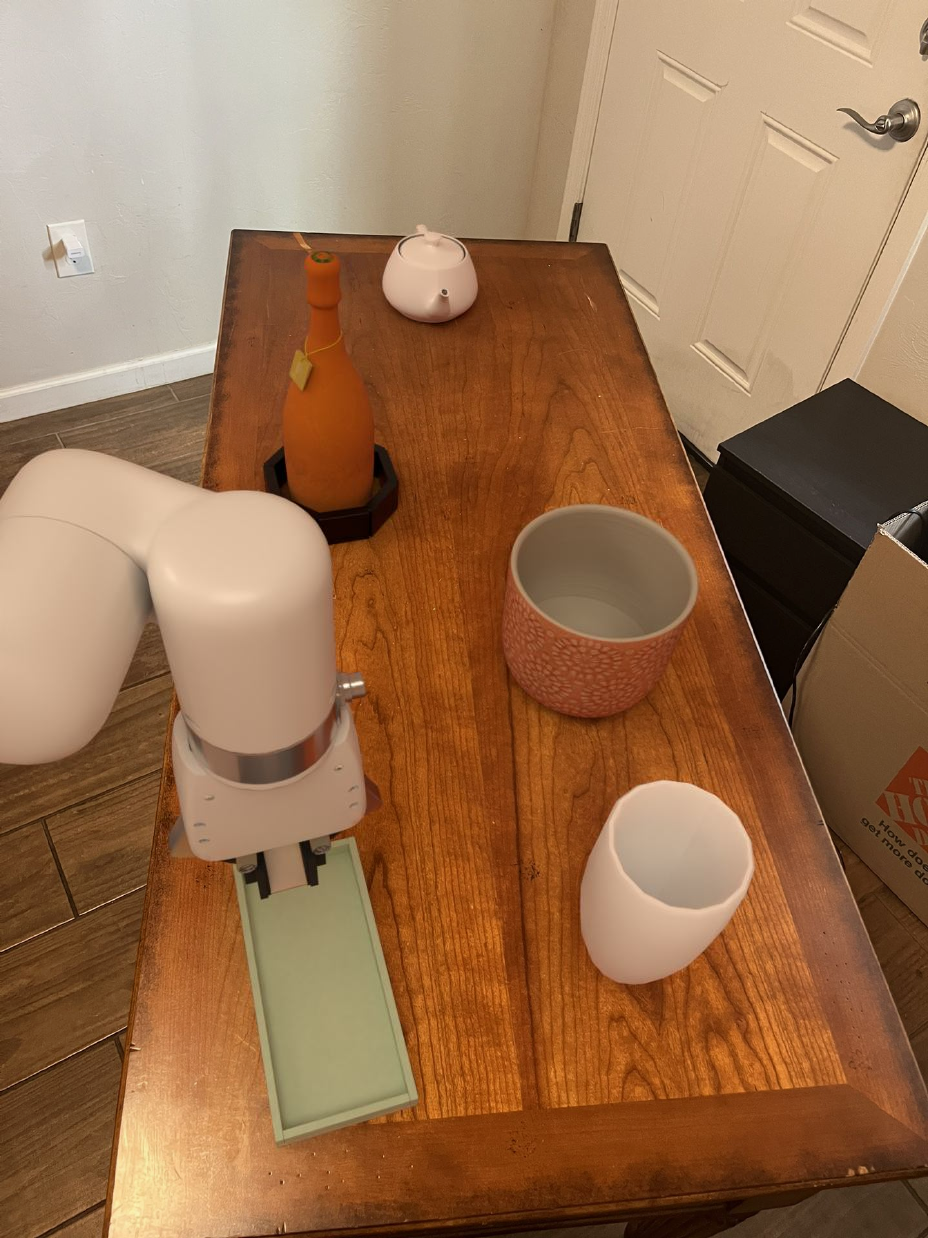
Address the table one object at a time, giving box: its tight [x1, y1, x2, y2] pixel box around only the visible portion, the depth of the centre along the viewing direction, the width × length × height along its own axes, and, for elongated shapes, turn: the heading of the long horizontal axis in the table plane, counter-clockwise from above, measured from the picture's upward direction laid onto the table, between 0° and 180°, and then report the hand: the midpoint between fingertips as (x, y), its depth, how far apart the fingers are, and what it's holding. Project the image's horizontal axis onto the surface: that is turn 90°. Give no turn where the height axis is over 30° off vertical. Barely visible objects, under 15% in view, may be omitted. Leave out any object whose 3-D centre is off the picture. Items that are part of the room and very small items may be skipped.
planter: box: [501, 503, 700, 719], centre depth 90 cm, size 17×17×15 cm
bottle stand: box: [262, 442, 400, 546], centre depth 108 cm, size 14×14×4 cm
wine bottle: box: [281, 250, 375, 513], centre depth 98 cm, size 10×10×30 cm
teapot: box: [381, 223, 479, 324], centre depth 133 cm, size 22×14×11 cm, turn 11°
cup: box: [579, 779, 756, 986], centre depth 68 cm, size 10×10×22 cm
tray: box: [232, 835, 419, 1149], centre depth 73 cm, size 10×21×2 cm, turn 17°
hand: (285, 870), depth 61 cm, fingers closed on brush, 2 cm apart
